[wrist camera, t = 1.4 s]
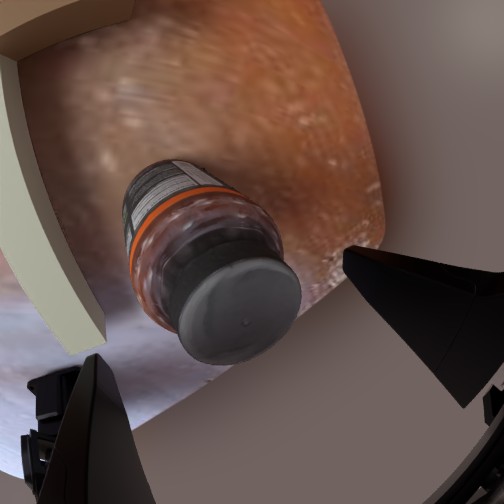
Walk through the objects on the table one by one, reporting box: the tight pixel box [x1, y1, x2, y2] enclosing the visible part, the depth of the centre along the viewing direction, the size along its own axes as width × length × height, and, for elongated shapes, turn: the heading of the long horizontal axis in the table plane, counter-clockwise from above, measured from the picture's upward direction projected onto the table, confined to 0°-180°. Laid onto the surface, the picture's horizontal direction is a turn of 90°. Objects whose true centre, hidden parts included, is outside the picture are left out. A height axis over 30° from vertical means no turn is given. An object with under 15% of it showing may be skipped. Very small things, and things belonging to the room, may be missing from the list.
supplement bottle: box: [122, 160, 302, 365], centre depth 12 cm, size 6×6×11 cm
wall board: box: [0, 0, 135, 356], centre depth 11 cm, size 20×10×5 cm, turn 9°
